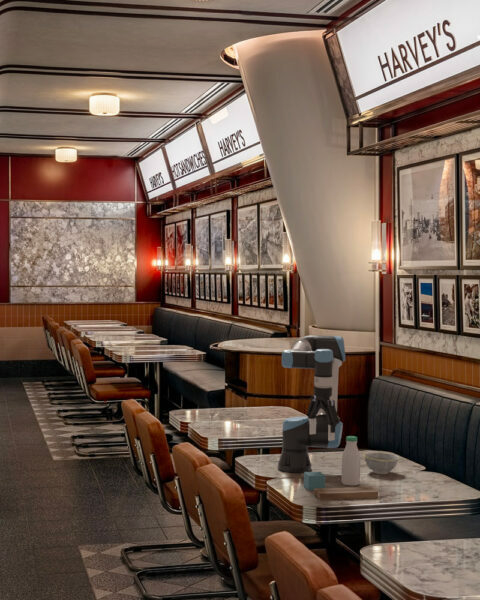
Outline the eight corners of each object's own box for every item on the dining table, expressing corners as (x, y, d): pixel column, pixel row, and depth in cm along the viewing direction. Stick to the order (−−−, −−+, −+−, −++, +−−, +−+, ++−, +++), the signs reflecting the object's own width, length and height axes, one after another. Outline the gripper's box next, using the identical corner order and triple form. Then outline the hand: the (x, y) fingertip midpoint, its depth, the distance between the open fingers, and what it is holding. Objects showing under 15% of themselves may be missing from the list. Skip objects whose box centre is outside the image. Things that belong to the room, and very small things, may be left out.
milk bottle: (359, 486, 367) (360, 438, 367) (340, 485, 369) (341, 437, 368) (360, 482, 375) (361, 435, 374) (342, 481, 377) (343, 434, 376)
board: (313, 494, 352) (314, 488, 352) (370, 493, 357) (370, 486, 357) (319, 499, 344) (320, 493, 344) (378, 498, 349) (378, 491, 349)
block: (303, 486, 366) (304, 472, 366) (319, 486, 368) (320, 471, 367) (308, 490, 359) (308, 475, 359) (324, 490, 361) (325, 475, 361)
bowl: (404, 472, 397) (404, 455, 397) (390, 478, 384) (391, 461, 384) (371, 467, 406) (372, 450, 406) (357, 473, 393) (357, 456, 392)
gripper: (299, 382, 376) (297, 432, 377) (333, 391, 354) (331, 443, 355) (313, 381, 380) (312, 430, 381) (348, 390, 358) (347, 442, 359)
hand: (321, 437), depth 368 cm, fingers open, 13 cm apart
